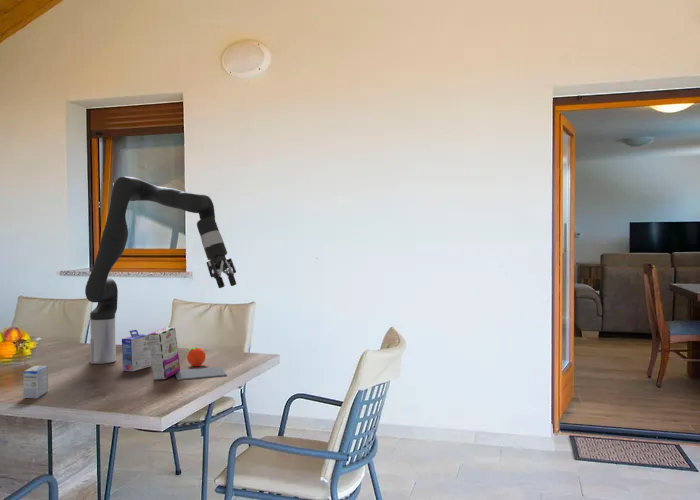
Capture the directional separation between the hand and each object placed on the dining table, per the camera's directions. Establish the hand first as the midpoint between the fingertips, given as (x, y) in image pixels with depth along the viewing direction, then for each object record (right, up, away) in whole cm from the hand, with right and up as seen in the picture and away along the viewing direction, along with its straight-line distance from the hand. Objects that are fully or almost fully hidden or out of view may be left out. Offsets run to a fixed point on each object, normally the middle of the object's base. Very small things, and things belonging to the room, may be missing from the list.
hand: (228, 286), depth 223 cm
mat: (-10, -32, -2) cm, 33 cm away
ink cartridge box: (-36, -32, +7) cm, 48 cm away
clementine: (-15, -32, +11) cm, 36 cm away
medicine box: (-55, -33, -30) cm, 71 cm away
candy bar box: (-20, -32, -7) cm, 38 cm away
